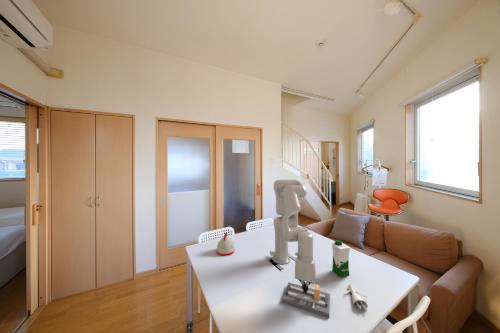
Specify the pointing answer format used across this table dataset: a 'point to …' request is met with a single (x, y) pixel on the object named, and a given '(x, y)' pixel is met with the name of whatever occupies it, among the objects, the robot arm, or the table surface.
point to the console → (307, 300)
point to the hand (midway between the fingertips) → (305, 291)
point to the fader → (317, 292)
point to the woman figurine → (357, 297)
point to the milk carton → (340, 258)
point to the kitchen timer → (225, 246)
